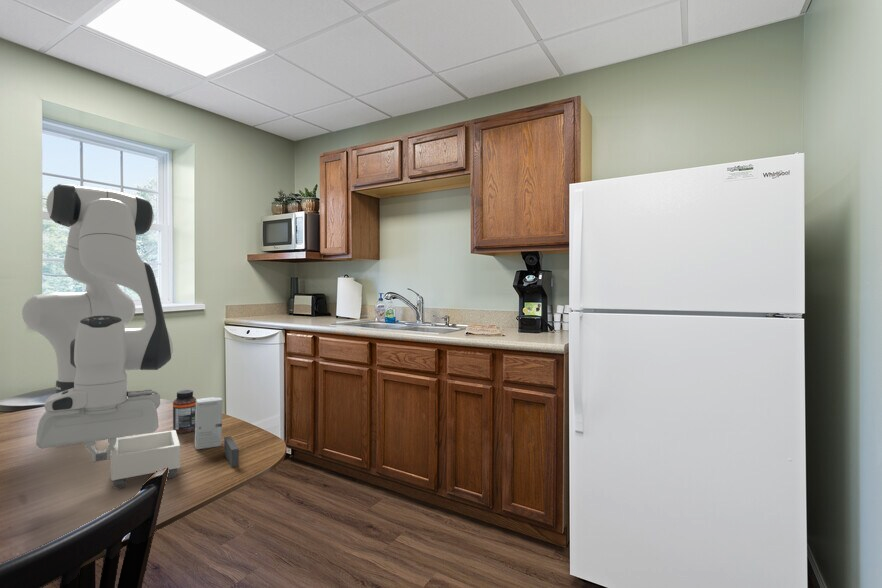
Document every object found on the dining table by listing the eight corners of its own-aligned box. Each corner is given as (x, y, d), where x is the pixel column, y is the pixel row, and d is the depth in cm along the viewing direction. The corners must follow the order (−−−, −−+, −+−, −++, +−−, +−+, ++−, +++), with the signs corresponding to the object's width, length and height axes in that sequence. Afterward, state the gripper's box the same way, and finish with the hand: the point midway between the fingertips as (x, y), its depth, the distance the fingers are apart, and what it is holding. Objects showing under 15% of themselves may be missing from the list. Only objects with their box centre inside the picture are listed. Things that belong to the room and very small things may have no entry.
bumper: (224, 453, 112) (224, 437, 112) (230, 452, 113) (230, 436, 112) (231, 467, 104) (231, 450, 103) (238, 465, 104) (238, 448, 104)
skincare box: (195, 450, 113) (196, 402, 113) (194, 444, 117) (194, 398, 117) (222, 445, 117) (222, 399, 116) (220, 440, 120) (220, 395, 120)
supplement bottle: (176, 427, 130) (176, 389, 130) (199, 426, 131) (199, 388, 131) (169, 434, 124) (169, 394, 124) (193, 433, 126) (193, 393, 125)
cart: (113, 471, 100) (113, 439, 100) (175, 459, 107) (175, 429, 106) (111, 492, 90) (110, 457, 90) (179, 478, 97) (180, 445, 97)
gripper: (159, 385, 102) (159, 445, 102) (39, 397, 90) (40, 465, 91) (160, 391, 97) (160, 455, 97) (33, 404, 85) (34, 476, 86)
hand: (101, 460), depth 94 cm, fingers closed
